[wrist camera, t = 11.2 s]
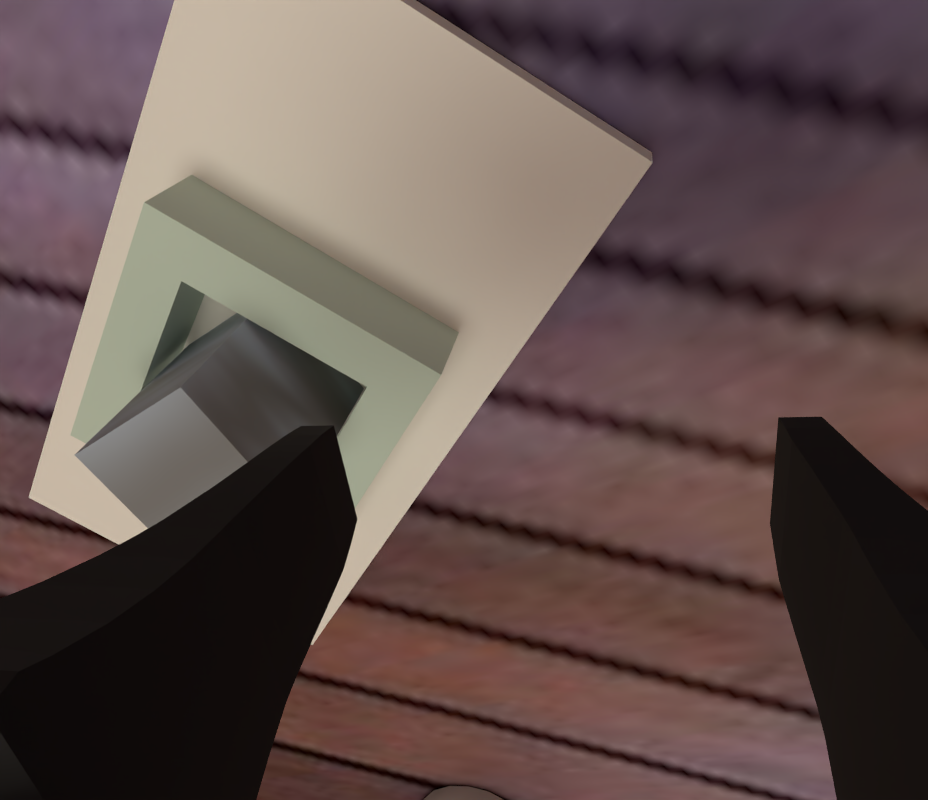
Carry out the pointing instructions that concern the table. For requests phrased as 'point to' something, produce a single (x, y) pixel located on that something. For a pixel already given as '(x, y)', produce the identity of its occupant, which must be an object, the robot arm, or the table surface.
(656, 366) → the table surface
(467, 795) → the bottle
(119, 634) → the robot arm
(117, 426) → the post
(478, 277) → the board with square socket
